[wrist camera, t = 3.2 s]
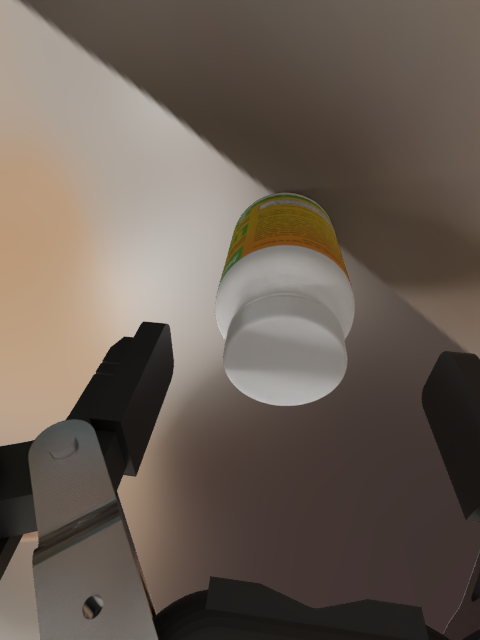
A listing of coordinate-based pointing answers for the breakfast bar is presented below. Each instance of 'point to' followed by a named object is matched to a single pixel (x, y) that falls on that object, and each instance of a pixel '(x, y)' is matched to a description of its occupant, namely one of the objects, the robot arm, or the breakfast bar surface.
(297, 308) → the supplement bottle
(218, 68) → the breakfast bar surface
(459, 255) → the breakfast bar surface
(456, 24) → the breakfast bar surface
